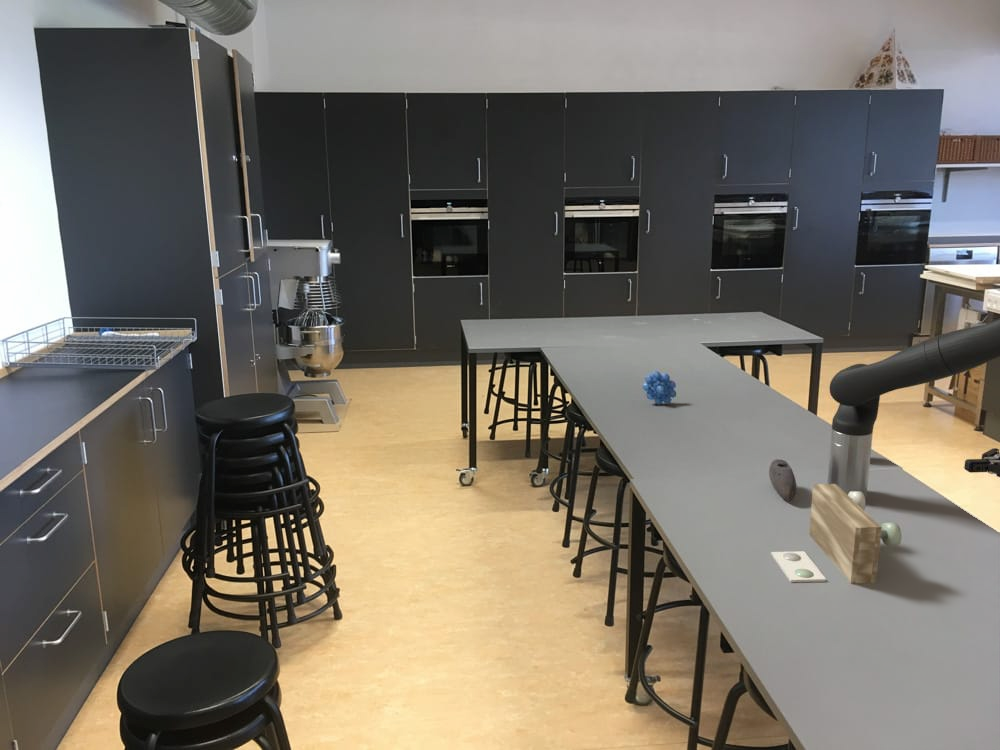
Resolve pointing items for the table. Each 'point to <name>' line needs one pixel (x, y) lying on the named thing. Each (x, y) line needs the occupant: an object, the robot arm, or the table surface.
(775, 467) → the perforated stone tool
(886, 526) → the button sage
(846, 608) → the table surface
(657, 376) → the blue bumpy cluster
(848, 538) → the light wood rectangular block
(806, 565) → the pattern card
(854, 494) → the button white
